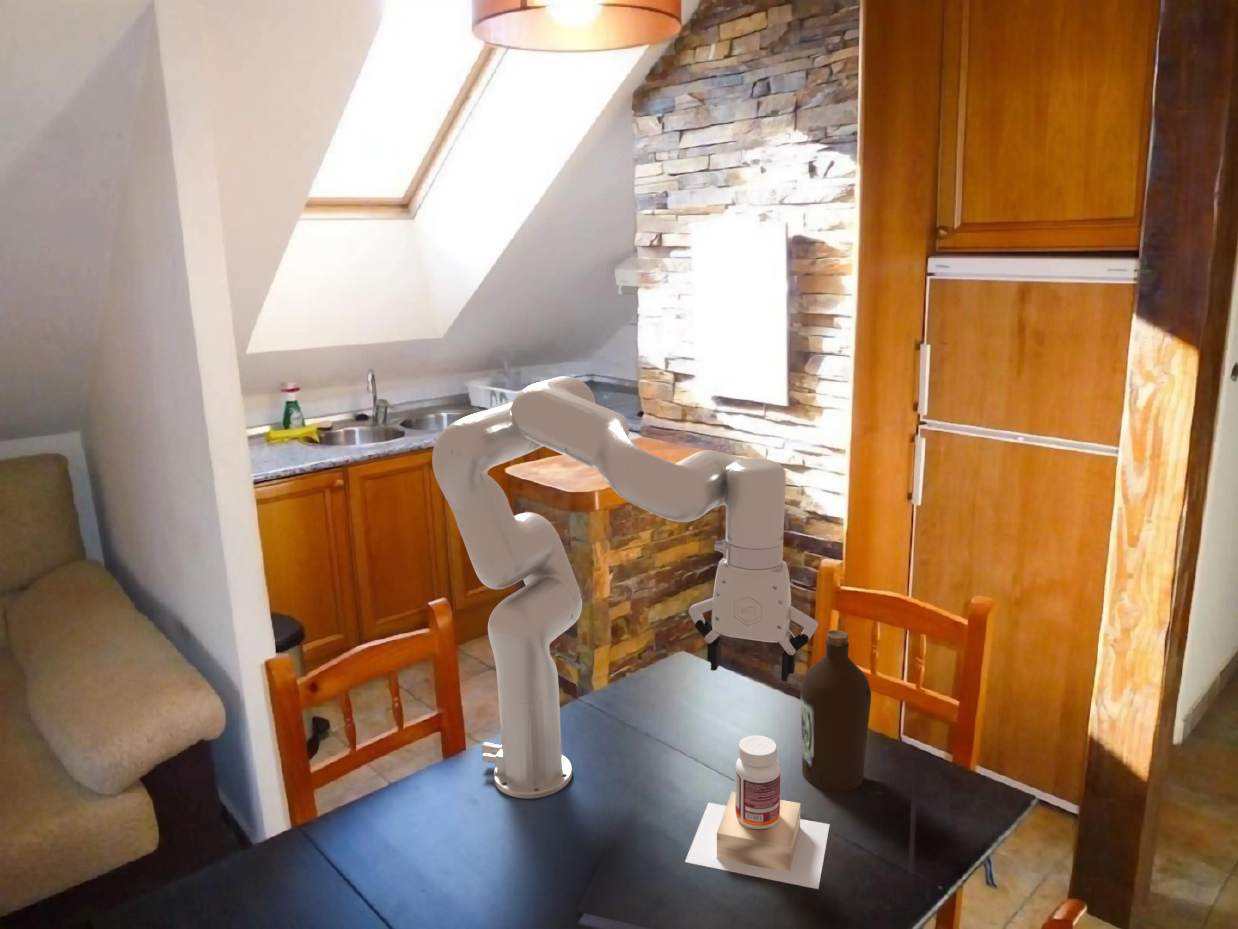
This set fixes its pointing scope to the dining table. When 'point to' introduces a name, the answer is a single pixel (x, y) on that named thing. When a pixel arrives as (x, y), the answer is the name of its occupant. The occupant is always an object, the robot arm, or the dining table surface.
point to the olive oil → (834, 719)
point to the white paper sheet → (801, 873)
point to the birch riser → (760, 838)
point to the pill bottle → (757, 783)
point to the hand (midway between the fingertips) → (750, 671)
